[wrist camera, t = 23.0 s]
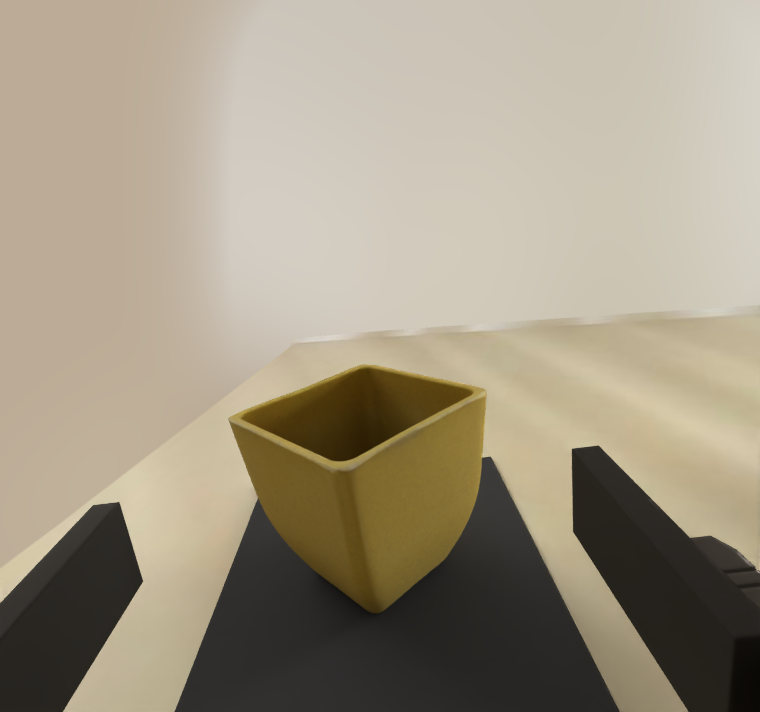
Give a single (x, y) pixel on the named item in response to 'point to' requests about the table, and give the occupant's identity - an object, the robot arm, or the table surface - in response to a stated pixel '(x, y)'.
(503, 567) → the felt pad
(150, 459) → the table surface
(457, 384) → the flower pot
